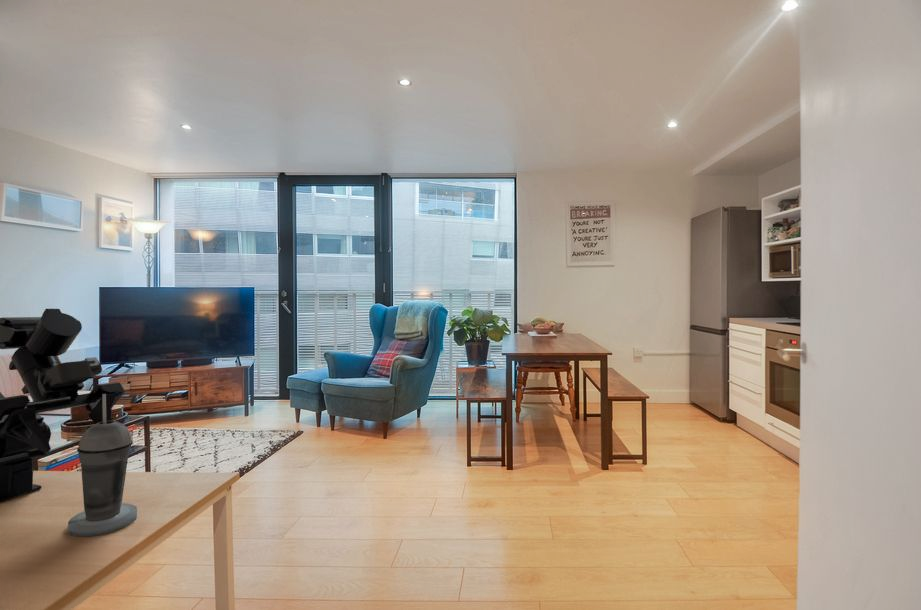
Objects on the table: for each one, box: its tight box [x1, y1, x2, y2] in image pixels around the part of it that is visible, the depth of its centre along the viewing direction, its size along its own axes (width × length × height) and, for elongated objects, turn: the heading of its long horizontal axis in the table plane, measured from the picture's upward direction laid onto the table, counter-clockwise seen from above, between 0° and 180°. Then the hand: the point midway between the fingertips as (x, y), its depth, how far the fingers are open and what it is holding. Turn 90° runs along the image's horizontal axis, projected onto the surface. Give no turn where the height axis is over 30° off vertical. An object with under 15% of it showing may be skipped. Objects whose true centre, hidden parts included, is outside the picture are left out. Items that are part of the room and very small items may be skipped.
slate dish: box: [67, 502, 138, 538], centre depth 75 cm, size 9×9×1 cm
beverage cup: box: [76, 394, 133, 522], centre depth 75 cm, size 7×7×20 cm
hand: (80, 443), depth 77 cm, fingers open, 9 cm apart
